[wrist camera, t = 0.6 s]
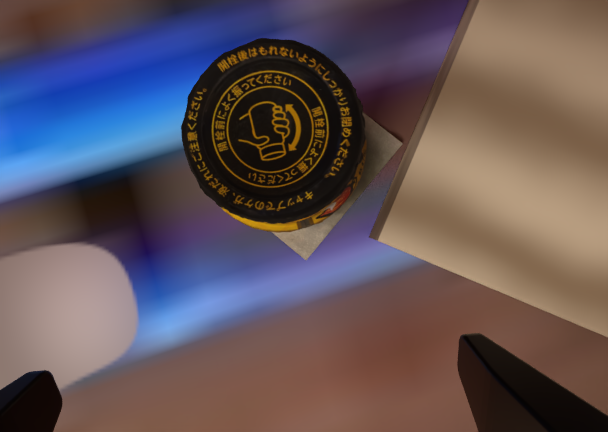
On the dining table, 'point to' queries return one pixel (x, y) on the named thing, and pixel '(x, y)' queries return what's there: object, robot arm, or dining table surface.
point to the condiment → (282, 140)
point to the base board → (514, 158)
